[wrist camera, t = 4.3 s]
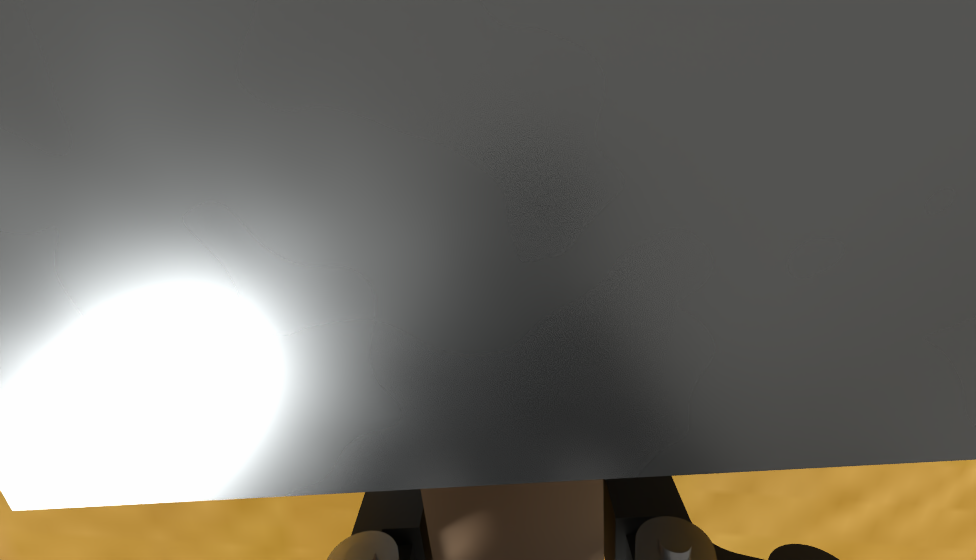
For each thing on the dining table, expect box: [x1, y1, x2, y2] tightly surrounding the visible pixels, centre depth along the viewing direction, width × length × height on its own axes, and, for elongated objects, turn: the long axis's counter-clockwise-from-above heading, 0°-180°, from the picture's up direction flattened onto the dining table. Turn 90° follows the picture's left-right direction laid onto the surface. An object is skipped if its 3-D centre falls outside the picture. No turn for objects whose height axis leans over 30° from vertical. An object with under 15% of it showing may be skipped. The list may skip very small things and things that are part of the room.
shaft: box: [421, 479, 604, 560], centre depth 8 cm, size 3×23×3 cm, turn 5°
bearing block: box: [0, 0, 976, 511], centre depth 7 cm, size 9×8×10 cm
